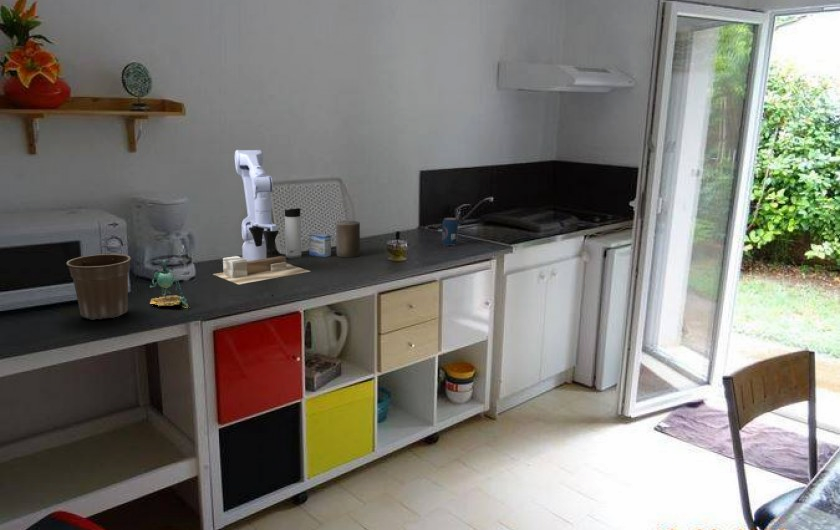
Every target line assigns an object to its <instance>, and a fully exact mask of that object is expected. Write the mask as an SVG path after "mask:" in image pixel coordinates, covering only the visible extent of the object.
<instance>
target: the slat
mask: <svg viewBox="0 0 840 530" xmlns="http://www.w3.org/2000/svg"><path fill="white" fill-rule="evenodd" d="M282 262H286V263H287V257H286V256H284V255H278V256H273V257H266V258H265V259H259V260H252V261H247V275H248V274H254V273H259V272H265V271H271V264H276V263H282Z"/></svg>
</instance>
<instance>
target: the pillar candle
mask: <svg viewBox="0 0 840 530" xmlns="http://www.w3.org/2000/svg"><path fill="white" fill-rule="evenodd" d="M360 224H361V223H360V221H356V220H339V221H337V222H335V232H336V234H335V236H336V237H335V238H336V239H335V240H336V241H335V242H336V248H335V249H336V256H337V257H339V258H348V259H349V258H358V257H360V256H361V235H360V234H361V230H360V229H361V225H360Z"/></svg>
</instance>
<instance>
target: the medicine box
mask: <svg viewBox="0 0 840 530" xmlns="http://www.w3.org/2000/svg"><path fill="white" fill-rule="evenodd" d="M308 237H309V238H308V240H309V241H308V242H309V243H308V249H309V250H308V251H309V252H308V254H309V256H312V257H319V258H320V257H321V258H326V257H330V256H332V251H331V250H332V242H331V241H332V240H331V239H332V238H331V237H332V235H330V234H323V233H310V234H309V236H308Z"/></svg>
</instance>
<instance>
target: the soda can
mask: <svg viewBox="0 0 840 530" xmlns="http://www.w3.org/2000/svg"><path fill="white" fill-rule="evenodd" d="M441 223H442V225H441V226H442V227H441V228H442V229H441V243H442V244H443V243H444V244H456V243H457V244H458V232H459V231H458V230H459V229H458V228H459V222H458V220H457V218H456V217H443V220H442V222H441ZM457 244H456V245H457Z"/></svg>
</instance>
